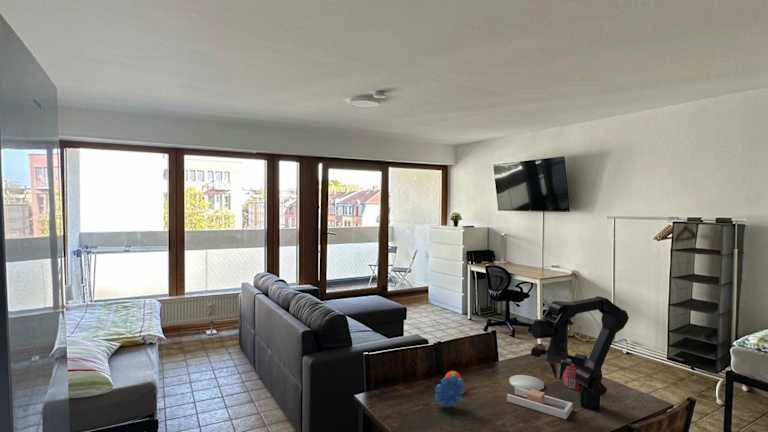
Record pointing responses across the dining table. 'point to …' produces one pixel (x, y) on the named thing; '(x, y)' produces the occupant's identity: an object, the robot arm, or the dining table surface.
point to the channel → (556, 408)
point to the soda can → (571, 377)
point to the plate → (526, 382)
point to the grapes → (449, 391)
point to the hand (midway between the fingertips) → (558, 378)
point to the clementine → (453, 374)
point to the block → (536, 396)
